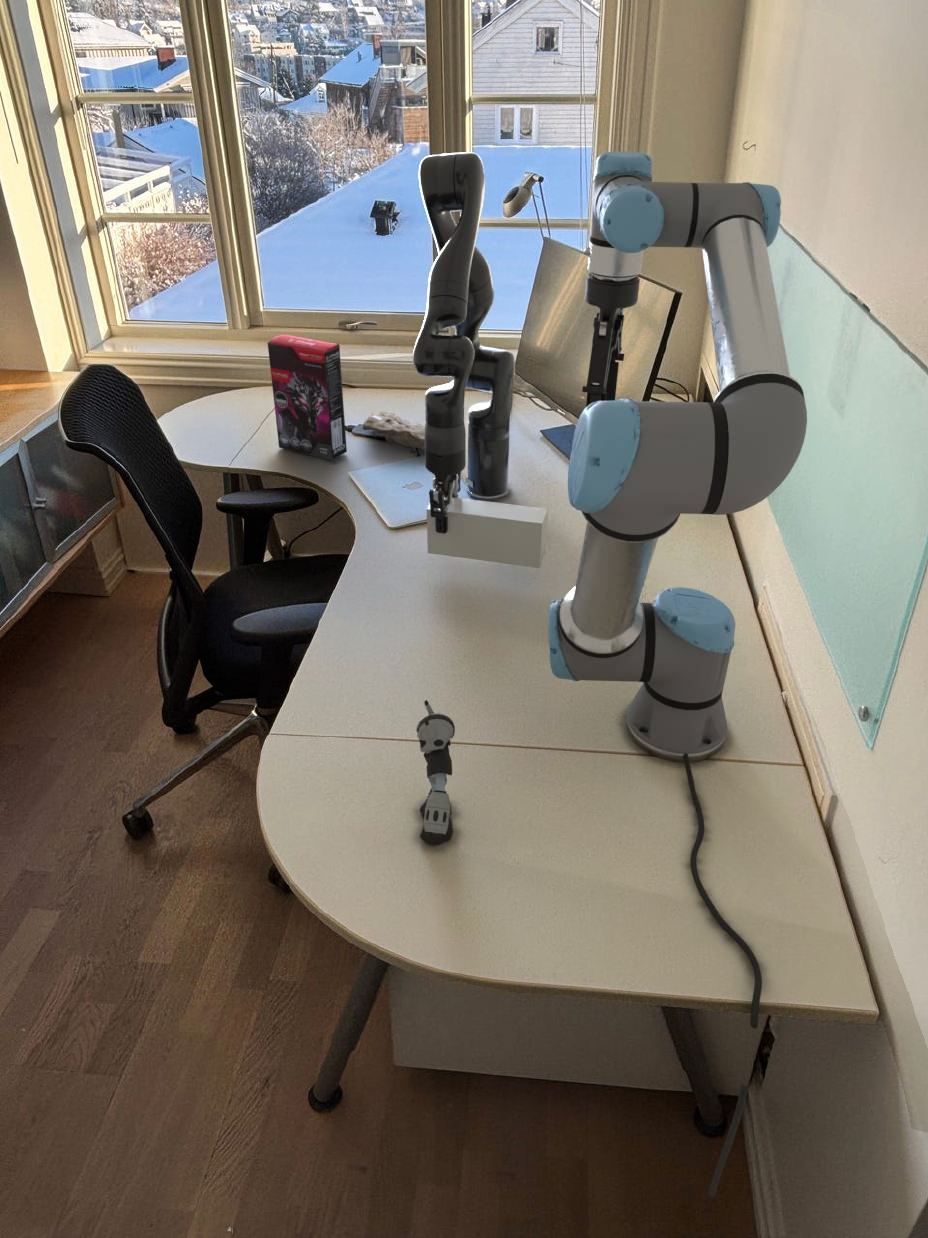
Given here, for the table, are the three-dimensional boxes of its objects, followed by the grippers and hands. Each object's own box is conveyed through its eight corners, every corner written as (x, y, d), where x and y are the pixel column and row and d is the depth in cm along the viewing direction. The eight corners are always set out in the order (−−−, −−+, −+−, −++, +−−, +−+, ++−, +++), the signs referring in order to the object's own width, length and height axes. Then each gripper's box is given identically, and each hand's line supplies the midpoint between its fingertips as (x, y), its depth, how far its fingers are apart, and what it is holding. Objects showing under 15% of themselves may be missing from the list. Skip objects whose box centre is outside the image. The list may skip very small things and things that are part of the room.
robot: (457, 879, 118) (458, 763, 107) (419, 880, 118) (416, 764, 107) (451, 772, 135) (451, 662, 123) (418, 773, 134) (415, 663, 123)
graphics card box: (276, 448, 231) (264, 340, 216) (293, 439, 236) (282, 332, 221) (333, 462, 225) (324, 351, 209) (349, 452, 230) (341, 343, 214)
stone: (346, 435, 230) (351, 411, 228) (368, 426, 244) (372, 404, 241) (425, 459, 227) (430, 436, 224) (442, 449, 240) (447, 427, 238)
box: (545, 552, 180) (548, 508, 175) (539, 568, 176) (542, 523, 170) (436, 538, 185) (435, 495, 179) (427, 553, 180) (426, 509, 175)
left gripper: (436, 426, 176) (438, 505, 185) (414, 457, 164) (416, 539, 174) (474, 430, 174) (474, 509, 184) (454, 462, 163) (455, 545, 172)
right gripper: (599, 253, 141) (588, 387, 153) (572, 294, 121) (561, 445, 133) (649, 256, 139) (633, 392, 151) (629, 299, 119) (613, 451, 131)
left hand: (446, 523), depth 179 cm, fingers closed on box, 6 cm apart
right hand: (599, 417), depth 142 cm, fingers open, 13 cm apart
